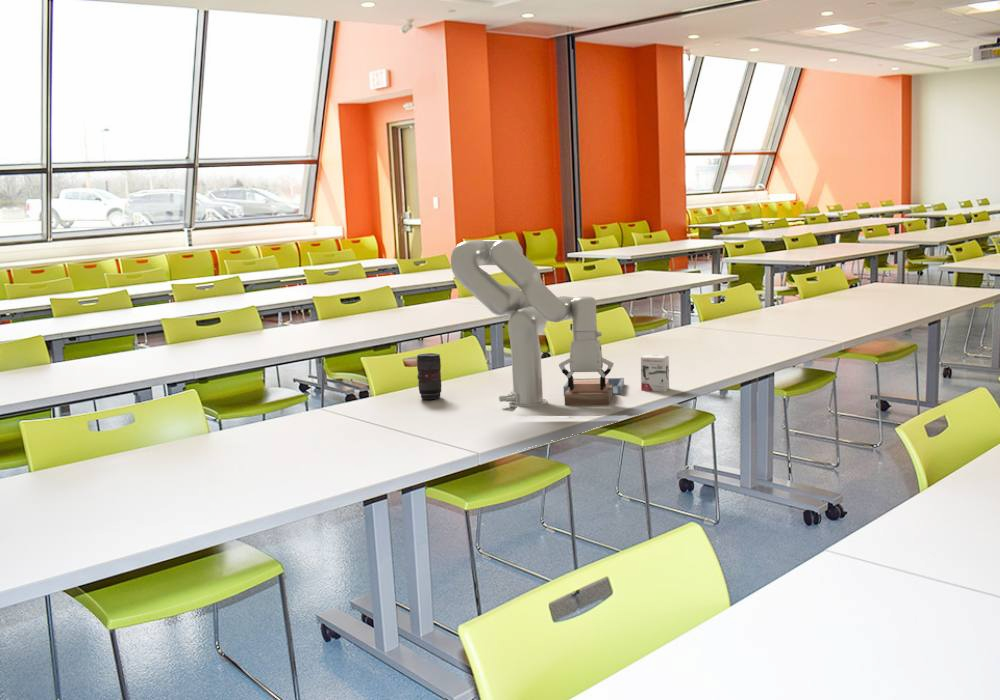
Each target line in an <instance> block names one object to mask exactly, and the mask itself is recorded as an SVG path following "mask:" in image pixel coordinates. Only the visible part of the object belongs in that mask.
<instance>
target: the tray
mask: <svg viewBox="0 0 1000 700" xmlns="http://www.w3.org/2000/svg"><path fill="white" fill-rule="evenodd" d="M583 379H584V378H573V380H583ZM587 379H600V377H599V378H597V377H596V378H587ZM605 379H609V385H613V396H621V395H622V392H623V389H624V387H625V378H624V377H611V378H609V377H605ZM568 388H569V387H568V380H567V382H566V383H565V384H564V385H563V395H564V394H565V393H566V391H567V390H568Z"/></svg>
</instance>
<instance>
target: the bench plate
mask: <svg viewBox="0 0 1000 700" xmlns="http://www.w3.org/2000/svg"><path fill="white" fill-rule="evenodd" d="M613 386H614V385H609V387H608V390H607V391H601V392H569V388H568V390H567V391H566V393H565V394H564V393H563V397H564V405H565V406H598V405H599V406H608V405H610V403H611V401H612V400H613V396H614V395H613Z"/></svg>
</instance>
